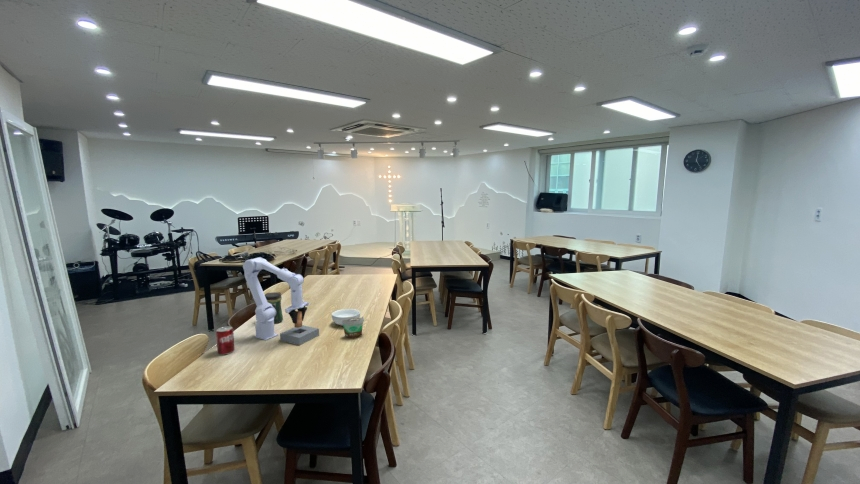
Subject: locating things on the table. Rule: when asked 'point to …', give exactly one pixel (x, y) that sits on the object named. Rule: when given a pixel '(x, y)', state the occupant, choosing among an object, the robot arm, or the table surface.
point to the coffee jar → (275, 305)
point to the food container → (353, 327)
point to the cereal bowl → (345, 315)
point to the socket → (299, 335)
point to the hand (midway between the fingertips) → (298, 321)
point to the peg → (299, 320)
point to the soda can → (225, 340)
